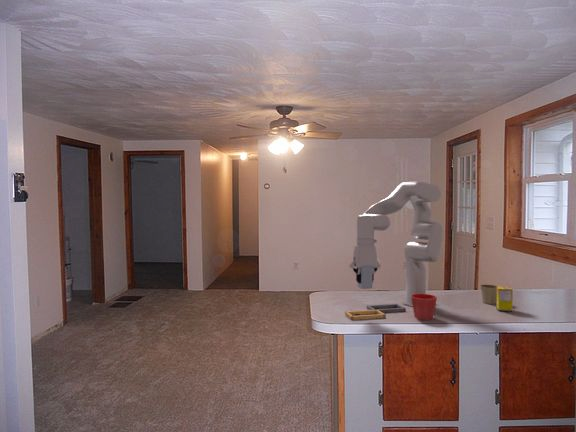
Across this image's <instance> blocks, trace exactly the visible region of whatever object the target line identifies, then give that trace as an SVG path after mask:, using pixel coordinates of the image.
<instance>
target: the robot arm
mask: <svg viewBox="0 0 576 432" xmlns="http://www.w3.org/2000/svg"><path fill="white" fill-rule="evenodd" d="M441 196H442V191H441V188H440V187H439V186H437V185H436V184H434V183H433V184H432V183H428V182H425V181H418V180H417V181H403V182H401V183H399V185H397V187H396V188H395V189H394V190H393V191H392V192H391V193H390V194H389V195H388V196H387V197H386V198H384V199H382V200H380V201H379V202H376V203H375V204H373V205H371V206H370V207H368V208H367V210H366V211H364V212H363V213H362V214H359V215H358V216H357V219H356V244H355V245H354V249H353V254H352V255H353V256H352V262H351V264H350V265H349V266H348V267H349V268H350V269H351V270H352V271H353V272H354V273H355V275H356V276H355V280H356V282H357V284H358V283H361V274H360V272H361V267H362V266H373V274H372V284H373V283H374V279H375V273H376V272H377V271H378V270H379V269H380V268H381V267H382V266H381V264H380V263H379V261H378V256H377V248H376V245H375V243H377V239H375V231H377V232H378V231H379V232H380V231H381V232H383V231H386V230H388V228H389V227H390V225H391V220H390V218H389V217H388V215H392V214H396V213H398V212H400V211H401V210H402V209H403V208H404V207H405V205H407V203H408V202H410V204H411V205H412V208H413V217H412V222H411V228H410V235H411V237H412V238H413V239H414V240H415V239H416V240H424V241H427V242H424V241H414V240H413V241H409V242H407V243H406V244H405V245H404V249H403V252H404V259H405V299H402V303H403V304H404V305H406V306H409V307H410V306H411V307H413V305H412V299H411V295H413V294H426V287H427V285H426V283H427V281H426V278H427V277H426V274H427V271H426V265H425V264H424V262H425V263H435V262H437V261H438V259H439V258H440V255H441V249H442V243H443V238H444V229H443V227H444V226H443V225H442V224H441V223H440V222H439V221H433V220H431V219H432V209H431V208H430V206H429V204H428V203H436V202H438V201H439V200H440V199H441Z"/></svg>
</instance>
